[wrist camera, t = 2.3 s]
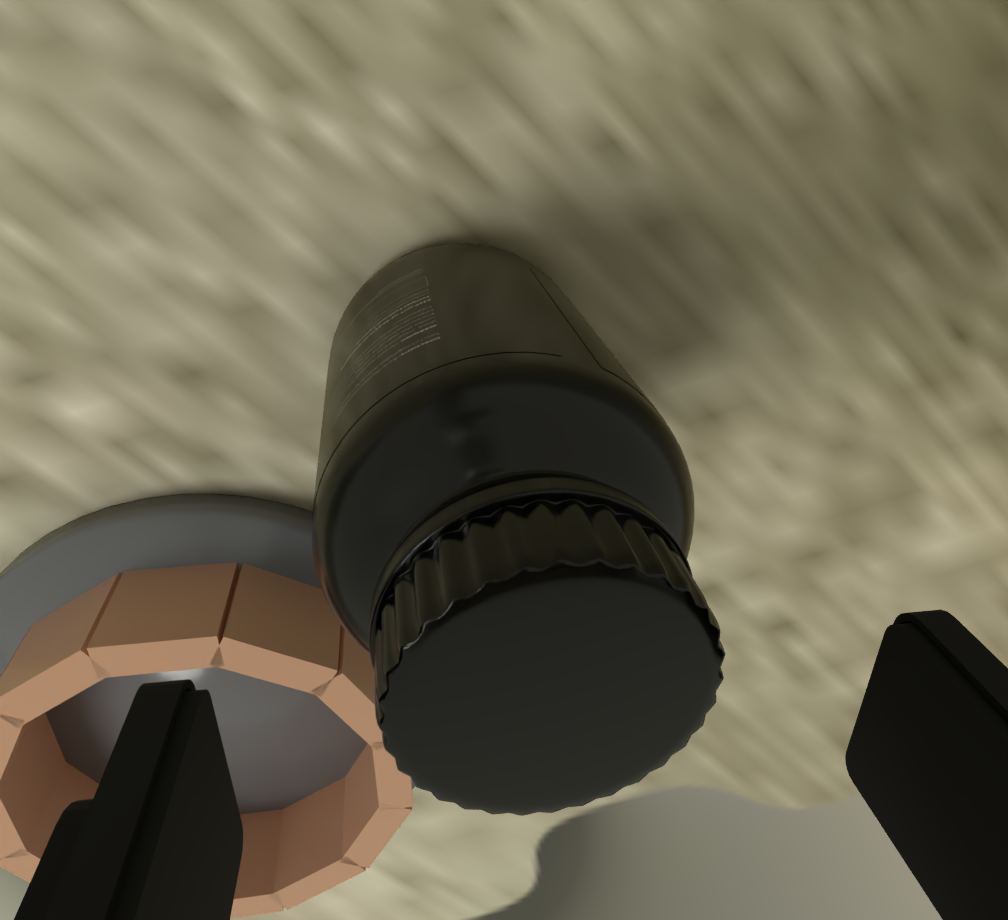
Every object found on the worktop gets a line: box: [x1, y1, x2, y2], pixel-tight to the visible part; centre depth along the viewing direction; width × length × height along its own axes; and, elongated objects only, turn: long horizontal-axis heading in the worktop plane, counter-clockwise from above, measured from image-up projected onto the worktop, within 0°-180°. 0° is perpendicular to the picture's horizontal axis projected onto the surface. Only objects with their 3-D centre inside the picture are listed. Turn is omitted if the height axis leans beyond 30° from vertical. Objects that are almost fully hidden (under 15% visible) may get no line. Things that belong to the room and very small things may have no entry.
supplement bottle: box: [312, 243, 725, 816], centre depth 15 cm, size 7×7×12 cm
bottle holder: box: [0, 494, 415, 918], centre depth 22 cm, size 15×15×4 cm
